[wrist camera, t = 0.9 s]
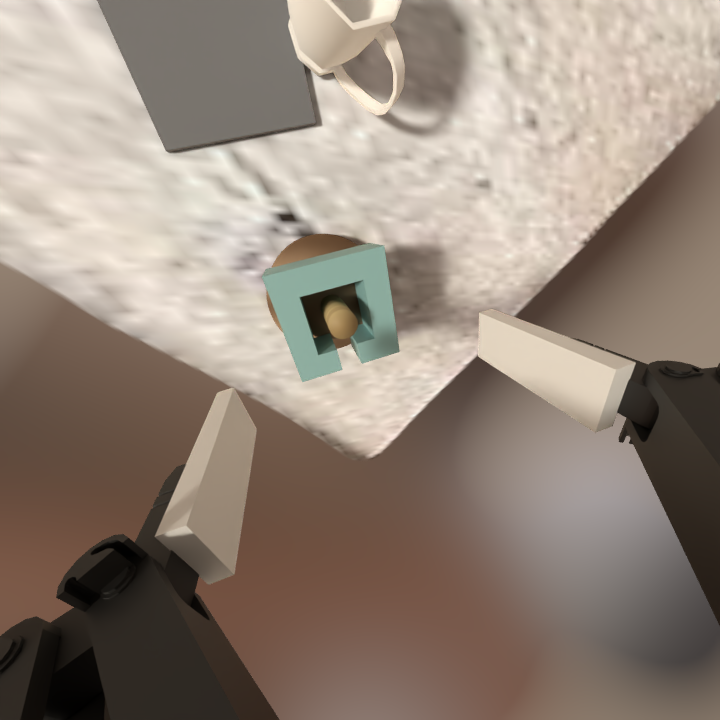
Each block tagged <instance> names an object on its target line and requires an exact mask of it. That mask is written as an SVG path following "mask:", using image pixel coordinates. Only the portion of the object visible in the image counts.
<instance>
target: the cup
mask: <svg viewBox="0 0 720 720" xmlns="http://www.w3.org/2000/svg"><path fill="white" fill-rule="evenodd" d="M401 2H402V0H287V3H288V10H289V15H290V19H289V23H288V28H289V31H290V34H291V38H292V41H293V44H294V47H295V51H296V54H297V57H298V59H299V60H300V61H301V62H302V63H304V64H305V65H306V66H307V67H308V68H309V69H310V70H312V71H313V72H314V73H315V74H316V75H317V76H321V75H325V74H328V73H332V72H333V74H334V75H335V77H336V79H337V80H338V82H339V83H340V84H341V86H342V87H343V88H344V89H345V90H346V91H347V92H348V94H349V95H350V96H352V97H353V98H354V99H355V100H356V101H357V102H358V103H359V104H361V105H362V106H363V107H364V108H365V109H367V110H368V111H370V112H371V113H373V114H375V115H383V114H386V112H387V111H388V110H389V109H390V108H391V107H392V106H393V105H394V103H395V102H396V101H397V100H398V98H399V96H400V93H401V91H402V89H403V87H404V76H405V64H404V59H403V54H402V50H401V48H400V45H399V42H398V40H397V37H396V34H395V32H394V30H393V28H392V26H391V23H392V22H393V21H395V19H396V16H397V13H398V10H399V8H400V5H401ZM375 38H376V39H377V41H378V42H379V44H380V45H381V47H382V49H383V50H384V52H385V54H386V56H387V57H388V59H389V61H390V63H391V66H392V70H393V93H392V95H391V98H390V100H389V102H388V103H385V104H381V103H379V102H378V101H376V100H374V99H373V98H372V97H370V96H369V95H368V94H367V93H365V92H364V91H363V90H362V89H361V88H360V87H359V86H357V85H356V84H355V82H354V81H353V80H352V79H351V78H350V77H349V76H348V74H347V73H346V72H345V70H344V68H343V66H342V64H343V63H345V62H347V61H349V60H350V59H352V58H354V57H356V56H357V55H358V54H359V53H360V52H361V51H362V50H364V49H365V48H366V47H367V46H368V45H369V44H370V43H371V42H372V41H373V40H374V39H375Z"/></svg>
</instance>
